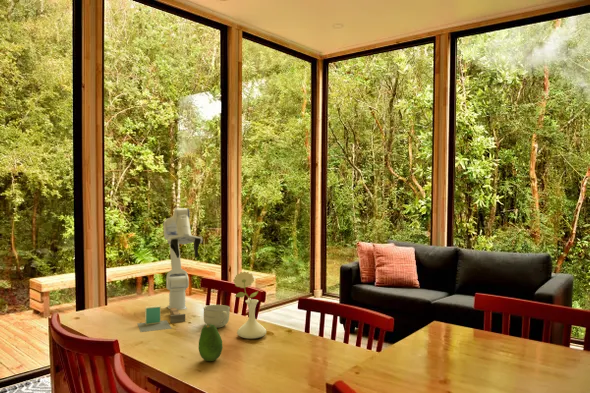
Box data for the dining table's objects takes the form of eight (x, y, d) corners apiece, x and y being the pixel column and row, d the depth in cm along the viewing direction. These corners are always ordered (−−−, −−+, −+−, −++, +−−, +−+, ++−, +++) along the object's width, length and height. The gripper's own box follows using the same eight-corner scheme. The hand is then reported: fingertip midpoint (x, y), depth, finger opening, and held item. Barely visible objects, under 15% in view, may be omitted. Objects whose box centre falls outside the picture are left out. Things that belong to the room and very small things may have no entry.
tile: (145, 323, 191) (145, 306, 191) (160, 322, 194) (160, 305, 194) (145, 324, 190) (145, 307, 190) (160, 323, 192) (160, 306, 192)
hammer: (165, 316, 205) (166, 308, 205) (179, 314, 207) (179, 307, 207) (170, 324, 193) (170, 315, 193) (185, 322, 195) (185, 314, 195)
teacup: (200, 324, 193) (200, 305, 193) (225, 321, 198) (225, 302, 197) (209, 333, 180) (209, 313, 180) (235, 330, 185) (235, 310, 185)
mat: (137, 324, 192) (137, 323, 192) (166, 321, 197) (166, 320, 197) (140, 333, 180) (140, 332, 180) (171, 329, 185) (171, 328, 185)
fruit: (196, 358, 153) (196, 322, 153) (220, 355, 156) (220, 320, 156) (200, 366, 146) (200, 329, 146) (224, 363, 149) (225, 326, 149)
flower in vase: (268, 332, 182) (268, 269, 181) (263, 341, 170) (264, 274, 170) (236, 331, 183) (236, 268, 183) (229, 340, 172) (229, 273, 171)
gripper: (168, 224, 195) (171, 250, 186) (202, 224, 201) (206, 249, 192) (165, 235, 199) (168, 260, 191) (199, 234, 205) (203, 259, 197)
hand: (187, 256), depth 192 cm, fingers open, 7 cm apart
